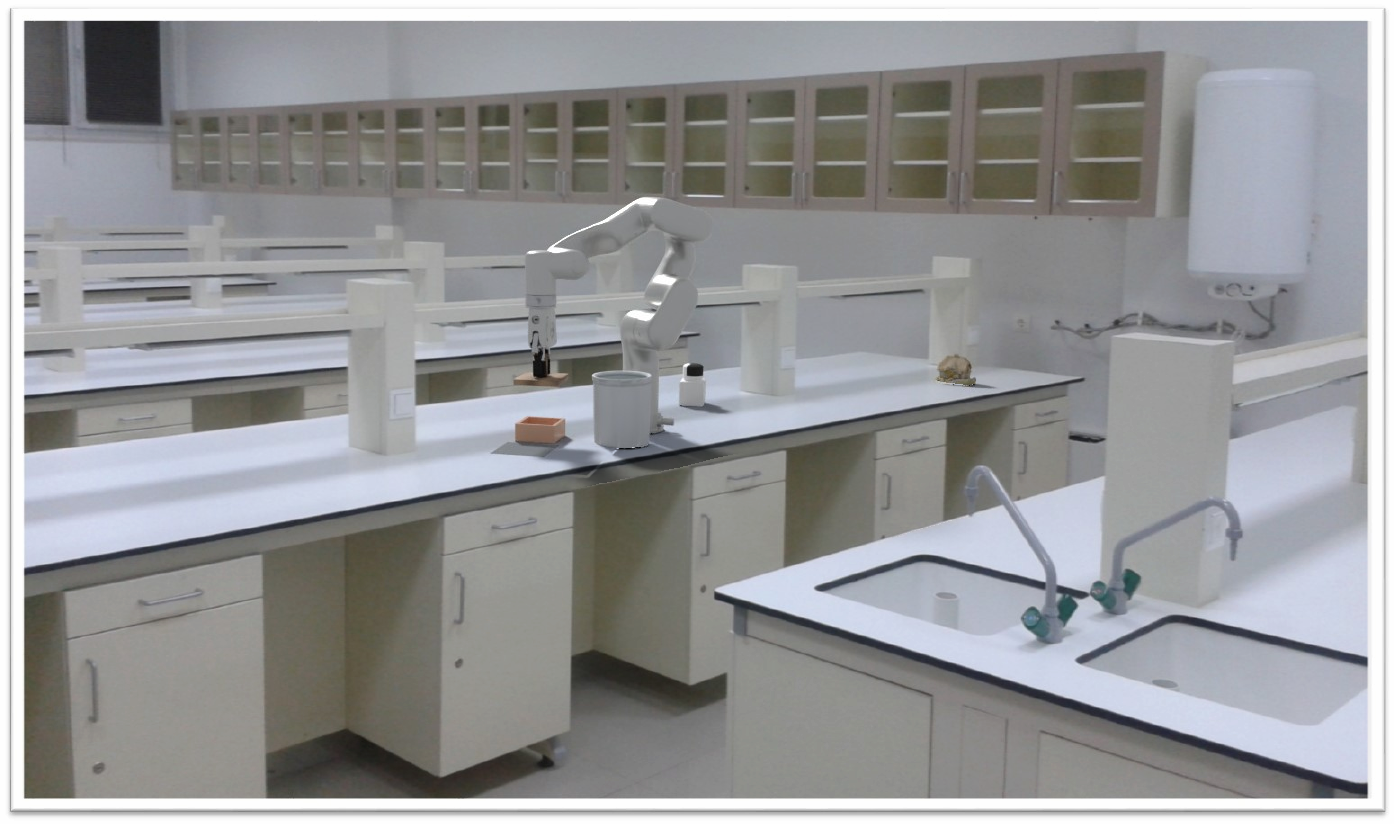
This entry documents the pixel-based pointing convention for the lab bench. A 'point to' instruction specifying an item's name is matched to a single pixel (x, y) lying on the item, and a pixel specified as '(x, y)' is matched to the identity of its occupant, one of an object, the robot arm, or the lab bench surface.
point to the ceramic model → (955, 370)
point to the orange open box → (540, 429)
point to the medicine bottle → (692, 386)
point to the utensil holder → (621, 408)
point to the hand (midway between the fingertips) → (541, 374)
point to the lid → (541, 378)
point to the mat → (524, 449)
